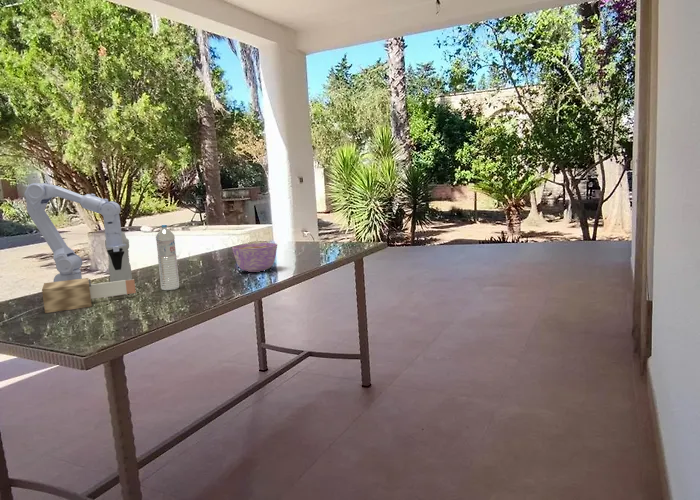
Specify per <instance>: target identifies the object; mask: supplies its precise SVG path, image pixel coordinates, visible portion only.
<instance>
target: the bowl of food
mask: <svg viewBox="0 0 700 500" xmlns="http://www.w3.org/2000/svg"><path fill="white" fill-rule="evenodd" d="M231 250H232V252H233V256H234V259H235V261H236V264H237V266H238V268H239V269H241V270H243V271H244V272H245V271H246V272H247V271H248V272H260V271H264V270H266V271H267V270H268V269H270V268H271V267H272V266H273V265H274V264H275V261H276V258H277V257H276V255H277V250H278V244H277V243H275V242H257V243H246V244H239V245H235V246H232V247H231ZM248 272H247V273H248ZM264 272H265V271H264ZM260 273H261V272H260Z"/></svg>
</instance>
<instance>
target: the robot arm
mask: <svg viewBox="0 0 700 500" xmlns="http://www.w3.org/2000/svg"><path fill="white" fill-rule="evenodd" d="M23 195H24V197H25V202H26V212H27V214H28V216H29V217H30V219H31V220H32V221H33V223H34V224H35V227H36V228H37V230H38V231H39V233H40V234H41V236H42V238H43V239H44V240H45V242H46V244H47V245H48V247H49V248H50V250H51V252H52V253H53V261H54V263H55V267H56V268H55V269H56V270H57V271H58V272H59V273H58V274H57V273H56V274H55V275H54V278H53V281H52V282H58V281H67V280H75V279H83V278H82V277H83V275H82V270H81V269H80V268H81V267H82V266H83V259H82V258H81V256H80V255H78V254H77V253H75V251H74V250H73V249H72V248H70V247H69V246H68V245H67V243H66V242H65V240H64V238H63V237H62V236H61V234H60V232H59V230H58V229H57V227H56V226H55V224H54V223H53V220H51V217H50V216H49V214H47V212H46V207H47V206H48V203H50V201H51V200H52V199H53V198H61V199H64V200H67V201H70V202H74V203H77V204H80V206H81V208H82V209H84V210H87V211H91V212H93V213H97V214H101V216H102V217H103V226H104V235H105V240H106V247H105V249H106V248H112V249H111V250H107V249H106V253H107V252H108V254H109V255H110V257H111V260H112V264H113V267H114V269H115V270H121V267H122V258H123V254H124V251H122V250H123V249H122V248H120V247H123V246H126V244H123V242H122V233H121V232H122V225H121V218H120V214H121V210H122V209H121V206H120V204H119V203H117V202H116V201H114V200H111V201H109V199H108V198H102V197H99V196H96V194H95V193H86V194H83V195H82V194H80V193H78V192H75V191H72V190H69V189H68V188H64V187H62V186H59V185H55V184H50V183H48V182H42V183H38V182H32V183H30V184H29V185H28V186H27V187H26V189H25V191H24V193H23ZM108 254H107V255H108Z"/></svg>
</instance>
